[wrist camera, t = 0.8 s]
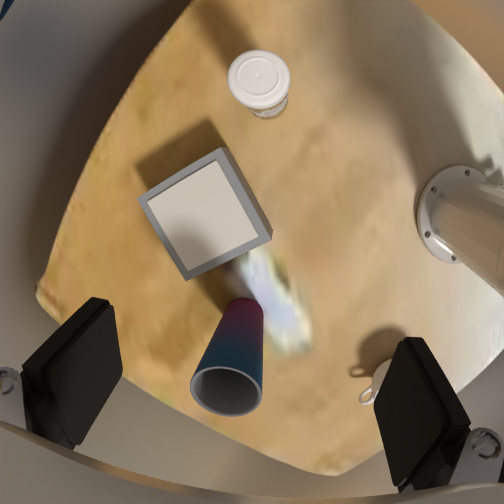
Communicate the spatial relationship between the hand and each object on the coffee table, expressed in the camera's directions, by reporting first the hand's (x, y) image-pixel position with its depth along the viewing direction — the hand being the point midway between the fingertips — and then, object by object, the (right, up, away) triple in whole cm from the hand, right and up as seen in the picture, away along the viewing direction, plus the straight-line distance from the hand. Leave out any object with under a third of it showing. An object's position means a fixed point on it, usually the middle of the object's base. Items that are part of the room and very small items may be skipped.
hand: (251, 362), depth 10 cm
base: (-5, +8, +28) cm, 29 cm away
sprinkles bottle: (+2, +20, +23) cm, 31 cm away
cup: (-1, -5, +32) cm, 32 cm away
